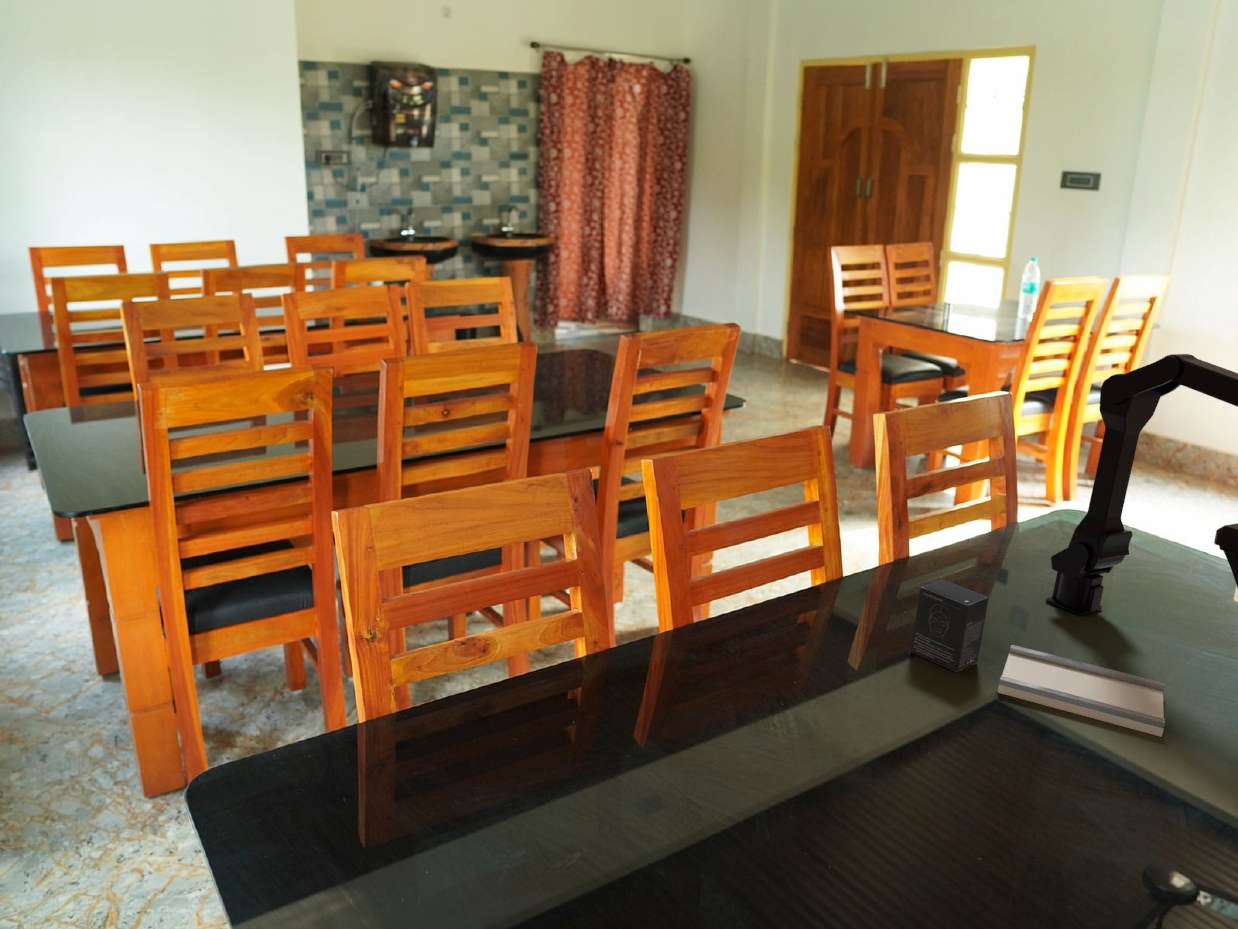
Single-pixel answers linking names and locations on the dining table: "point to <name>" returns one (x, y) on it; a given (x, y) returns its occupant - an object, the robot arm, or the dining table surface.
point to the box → (949, 624)
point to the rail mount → (1084, 689)
